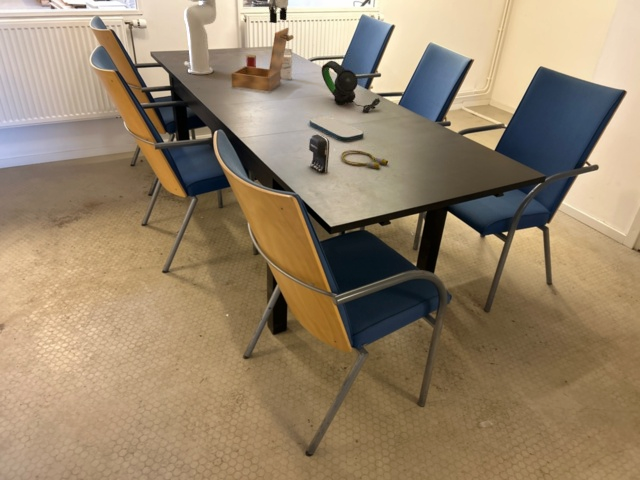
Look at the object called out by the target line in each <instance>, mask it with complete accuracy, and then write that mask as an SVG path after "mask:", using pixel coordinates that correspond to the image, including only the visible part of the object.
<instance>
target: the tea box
mask: <svg viewBox="0 0 640 480" xmlns="http://www.w3.org/2000/svg"><path fill="white" fill-rule="evenodd" d="M268 74H269V68H263V67H257V66H256V67H248V66H246V65H244V66H243V67H241V68H239V69H236V70H234V71H233V72H231V74H230V75H231V78H230V79H231V87H234V88H242V89H248V90H254V91H255V90H256V91H262V92H263V91H264V92H271V90H274V89H275V88H276V87H278V86H279V85H280V84H281V81H282V80H281V79H282V78H281V71H279V72H277V73H276V74H274V75H273V76H271V77H268Z"/></svg>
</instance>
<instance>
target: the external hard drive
mask: <svg viewBox="0 0 640 480" xmlns="http://www.w3.org/2000/svg"><path fill="white" fill-rule="evenodd" d="M309 125H310V126H311V127H313V128H315V129H317V130H319V131H321V132H322V133H325V134H327V135H328V136H330V137H332V138H334V139H336V140H337V141H338V140H339V141H342V142H351V141H356V140H358V139H359V140H360V139H362V138H363V137H364V131H363V130H361V129H359V128H357V127H355V126H353V125H351V124H349V123H347V122H344V121H342V120H340V119H338V118H336V117H335V116H334V117H333V116H331V115H322V116H316V117H313V118H310V119H309Z"/></svg>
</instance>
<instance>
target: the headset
mask: <svg viewBox="0 0 640 480" xmlns="http://www.w3.org/2000/svg"><path fill="white" fill-rule="evenodd" d="M330 69H331V70H333V72H334V73H335V74H336V76H335V79H334V80H333V78H332V76H331V74H330ZM321 76H322V79H323V81H324V83H325V85H326V87H327V89H328V90H329V92H330V93H331V94H332V95H333V97H334V102H335V104H336V105H338V106H346V105H349V104H352V103H353V104H354V105H355V106H358V107H363V109H362V112H363V113H368V112H370V110H371V111H372V110H375V109H377V108H376V106H378V105H379V104H380V102H381V100H380V98H379V97H377V98H375V99H373V100H372V102H371V103H370V104H364V105H360V104H357V103H356V102H355V99H356V93H355V90H356V89H357V86H358V83H359V81H358V77H357V75H356V73H355V72H353V71H352V70H350V69H345V67H343V66H342V65H341V64H339V63H338V62H337V61H335V60H329V61H328V62H326V63H324V64H323V65H322V67H321Z"/></svg>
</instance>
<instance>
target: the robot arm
mask: <svg viewBox="0 0 640 480" xmlns="http://www.w3.org/2000/svg"><path fill="white" fill-rule="evenodd" d="M188 1H189V2H192V3H197V2H198V4H193V5H192V4H191V5H190V6H187V7H186V8H185V10H184V12H183V14H184V15H183V18H184V22H185V26H186V31H187V41H188V51H189V52H188V54H189V61H184V62H183V66H184V67H188V68H187V73H189V74H192V75H209V74H212V73H213V71H214V69H213V68H212V67H210V56H209V40H208V38H209V37H208V33H207V30H206V28H205V26H207V25H211V24H213V23H214V22H215V21H216V19H217V3H216V0H188ZM267 5H268V10H269V11H268V12H269V23H273V24H277V23H278V13H277V12H278V11H277V10H278V9H280V10H279V20H280V21H287V13H288V6H289V0H269V1H268V3H267Z"/></svg>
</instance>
